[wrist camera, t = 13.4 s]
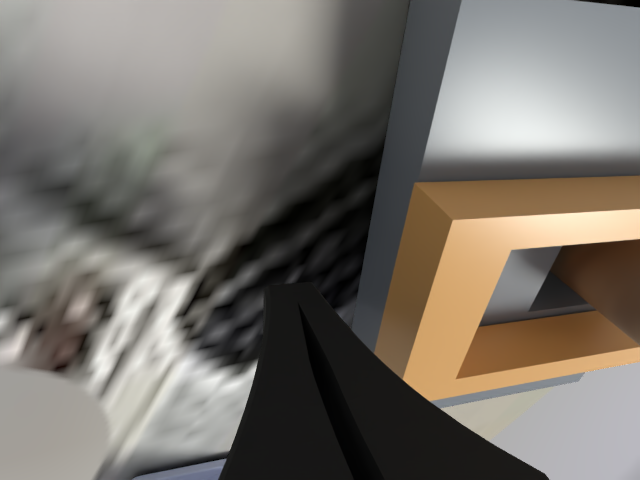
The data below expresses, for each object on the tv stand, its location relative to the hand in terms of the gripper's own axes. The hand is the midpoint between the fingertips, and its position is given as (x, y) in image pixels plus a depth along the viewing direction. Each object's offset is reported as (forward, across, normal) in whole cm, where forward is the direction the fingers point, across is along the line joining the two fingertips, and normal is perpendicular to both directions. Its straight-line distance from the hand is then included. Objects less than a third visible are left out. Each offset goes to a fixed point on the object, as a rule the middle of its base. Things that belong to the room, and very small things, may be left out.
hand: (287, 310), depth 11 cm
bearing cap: (+1, -9, 0) cm, 9 cm away
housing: (+3, -10, 0) cm, 10 cm away
